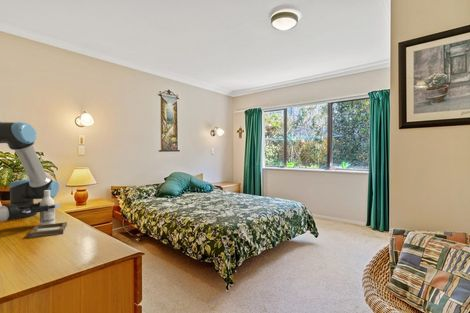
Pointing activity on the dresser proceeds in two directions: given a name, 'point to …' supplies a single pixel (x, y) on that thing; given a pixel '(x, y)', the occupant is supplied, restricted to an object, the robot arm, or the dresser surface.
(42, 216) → the bath foam
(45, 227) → the tray
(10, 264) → the dresser surface
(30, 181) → the robot arm
